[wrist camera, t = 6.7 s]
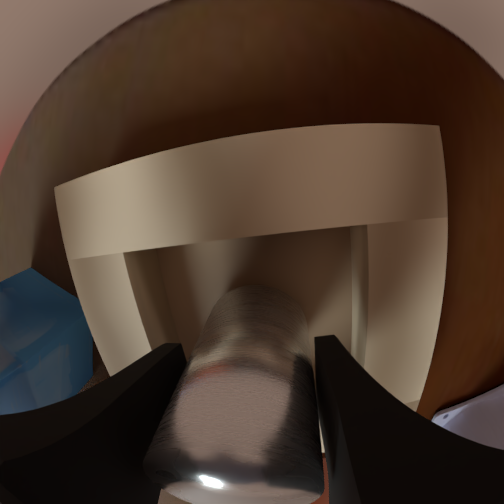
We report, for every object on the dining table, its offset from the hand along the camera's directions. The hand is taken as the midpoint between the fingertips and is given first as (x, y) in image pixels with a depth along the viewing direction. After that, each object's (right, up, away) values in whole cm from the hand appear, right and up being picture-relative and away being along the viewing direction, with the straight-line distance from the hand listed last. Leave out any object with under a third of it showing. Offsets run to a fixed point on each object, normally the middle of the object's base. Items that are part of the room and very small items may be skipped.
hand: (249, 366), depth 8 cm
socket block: (+1, +1, +4) cm, 4 cm away
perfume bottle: (-13, -1, +7) cm, 15 cm away
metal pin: (0, 0, +2) cm, 3 cm away
